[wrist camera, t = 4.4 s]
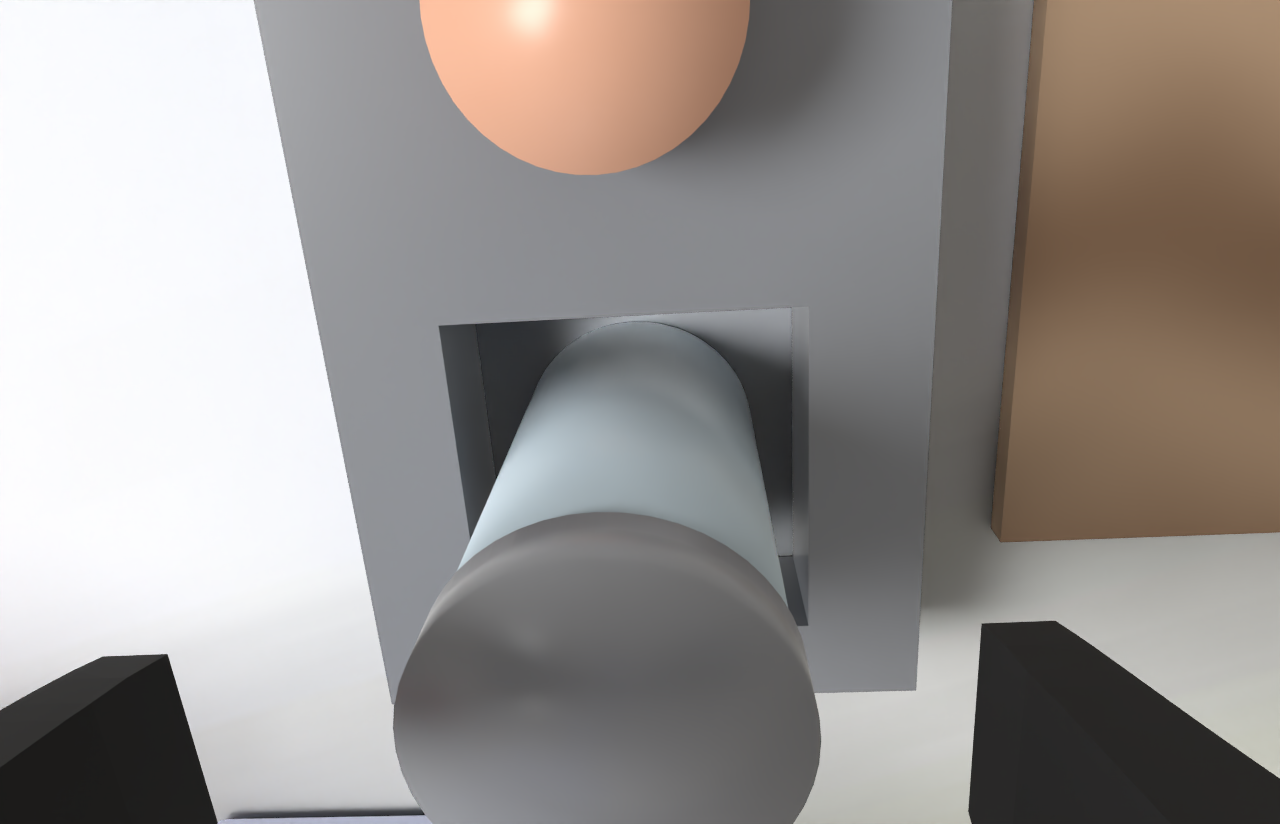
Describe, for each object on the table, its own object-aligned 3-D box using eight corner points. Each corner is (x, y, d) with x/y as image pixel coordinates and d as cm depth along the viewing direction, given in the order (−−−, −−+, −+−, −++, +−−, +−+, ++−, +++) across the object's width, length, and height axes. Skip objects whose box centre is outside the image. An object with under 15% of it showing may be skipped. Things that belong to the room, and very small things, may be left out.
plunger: (743, 150, 14) (753, 164, 12) (475, 166, 14) (444, 183, 12) (735, -165, 12) (746, -203, 10) (437, -140, 12) (394, -173, 11)
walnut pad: (1402, 512, 18) (1425, 527, 18) (990, 528, 19) (1000, 542, 18) (1549, -49, 15) (1583, -53, 14) (1035, -12, 15) (1048, -14, 15)
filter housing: (888, 614, 20) (916, 690, 17) (424, 629, 20) (392, 704, 18) (922, -294, 14) (972, -364, 12) (274, -235, 14) (196, -292, 12)
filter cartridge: (758, 527, 19) (819, 901, 11) (537, 535, 19) (426, 905, 11) (754, 310, 17) (822, 550, 9) (511, 322, 18) (359, 566, 9)
